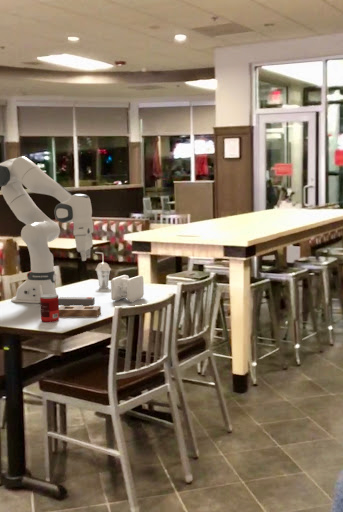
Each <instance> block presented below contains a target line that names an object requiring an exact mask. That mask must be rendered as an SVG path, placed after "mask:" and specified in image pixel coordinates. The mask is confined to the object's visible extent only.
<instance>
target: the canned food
mask: <svg viewBox="0 0 343 512" xmlns="http://www.w3.org/2000/svg"><path fill="white" fill-rule="evenodd" d="M39 304H40V320H41V322H43V323H56V322H59V320H60V316H59V307H60V305H59V294H58V293H57V294H43V295H41V296H40V303H39Z"/></svg>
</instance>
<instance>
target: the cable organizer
mask: <svg viewBox="0 0 343 512" xmlns="http://www.w3.org/2000/svg"><path fill="white" fill-rule="evenodd" d="M110 289H111V290H110V292H111V301H115V302H119V301H120V300H124V299H126V300H127V301H128V302H129V303H134V302H135V301H140V300H141V299H142V298H143V297H144V294H145V293H144V277H143V275H137V276H134V277H129V275H127V274H123V275H120V276H117V277H113V278H111V281H110Z"/></svg>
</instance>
